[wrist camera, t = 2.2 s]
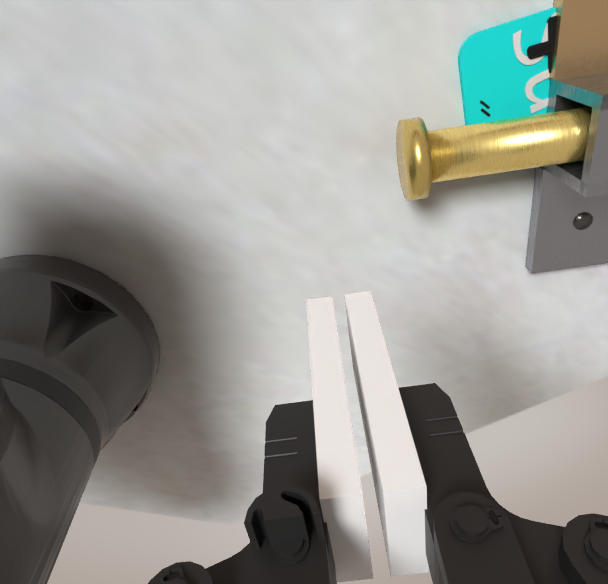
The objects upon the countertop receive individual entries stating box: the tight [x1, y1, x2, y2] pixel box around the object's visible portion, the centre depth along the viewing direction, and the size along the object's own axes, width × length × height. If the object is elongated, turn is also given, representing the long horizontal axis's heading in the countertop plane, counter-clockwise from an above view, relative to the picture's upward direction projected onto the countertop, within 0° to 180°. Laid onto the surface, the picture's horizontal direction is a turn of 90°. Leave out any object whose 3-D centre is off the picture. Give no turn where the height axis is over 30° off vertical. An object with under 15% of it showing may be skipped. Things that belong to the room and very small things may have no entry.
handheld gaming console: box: [458, 8, 557, 125], centre depth 28 cm, size 8×1×15 cm
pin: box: [396, 107, 593, 201], centre depth 27 cm, size 20×4×4 cm, turn 98°
